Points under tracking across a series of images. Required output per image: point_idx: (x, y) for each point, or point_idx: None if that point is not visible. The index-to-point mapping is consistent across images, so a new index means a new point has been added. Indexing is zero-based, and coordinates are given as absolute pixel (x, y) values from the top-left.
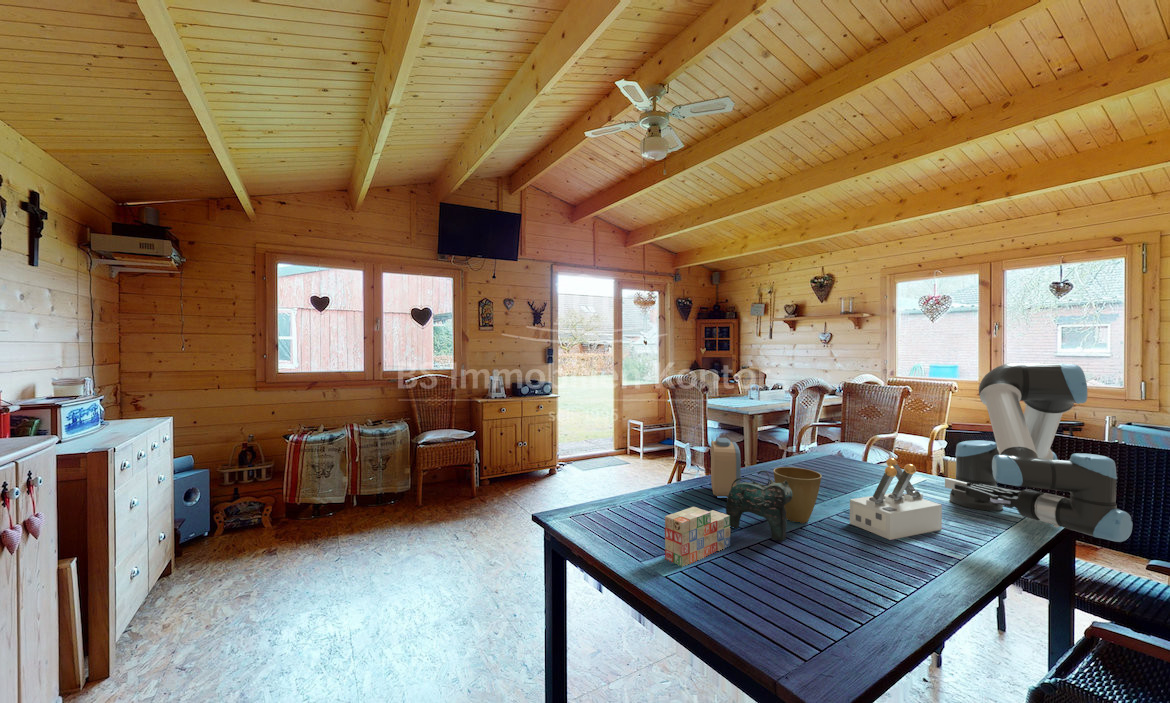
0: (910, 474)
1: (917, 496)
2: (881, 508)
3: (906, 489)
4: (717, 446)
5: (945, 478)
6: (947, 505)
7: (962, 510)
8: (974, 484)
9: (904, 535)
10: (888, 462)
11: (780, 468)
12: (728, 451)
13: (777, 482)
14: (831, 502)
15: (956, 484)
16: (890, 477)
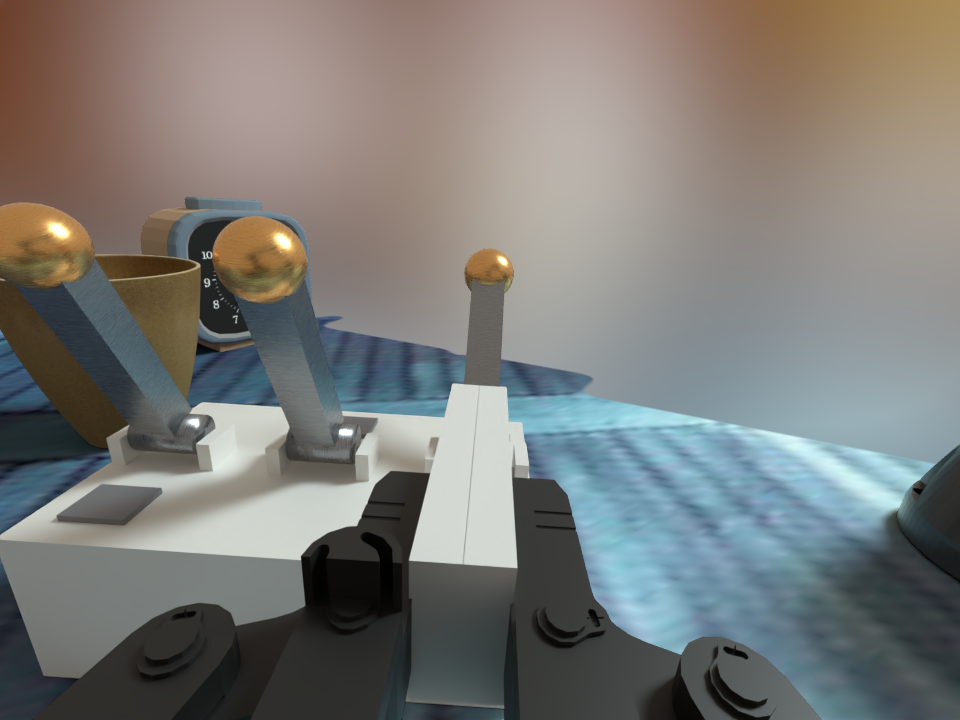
0: (260, 304)
1: None
2: (112, 484)
3: None
4: (180, 208)
5: (457, 385)
6: (848, 533)
7: (900, 588)
8: (538, 615)
9: None
10: (465, 268)
11: (152, 259)
12: (169, 217)
13: None
14: (411, 408)
15: (380, 486)
16: (34, 293)
